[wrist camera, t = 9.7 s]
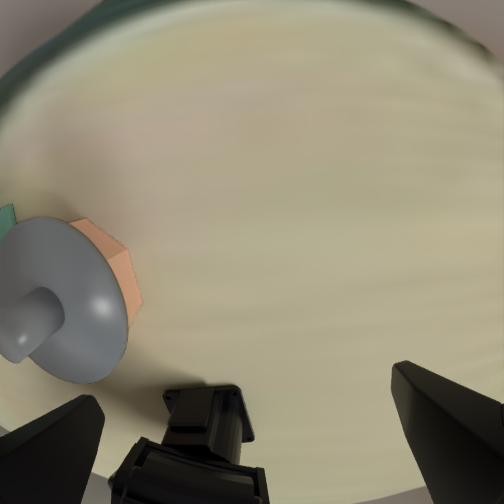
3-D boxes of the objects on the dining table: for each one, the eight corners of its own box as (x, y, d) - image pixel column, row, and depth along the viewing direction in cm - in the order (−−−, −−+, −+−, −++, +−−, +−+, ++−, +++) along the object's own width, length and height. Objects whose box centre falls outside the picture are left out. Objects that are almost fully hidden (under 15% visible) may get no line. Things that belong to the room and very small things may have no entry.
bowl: (154, 336, 21) (135, 365, 17) (63, 342, 22) (38, 365, 18) (117, 209, 19) (87, 216, 15) (28, 237, 20) (-5, 248, 16)
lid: (154, 377, 18) (124, 433, 12) (36, 374, 19) (1, 410, 13) (96, 194, 15) (34, 204, 10) (-14, 237, 16) (-64, 254, 11)
